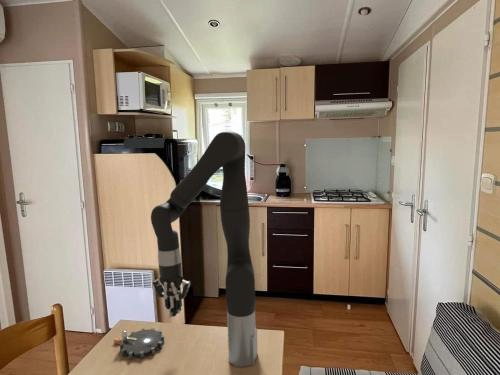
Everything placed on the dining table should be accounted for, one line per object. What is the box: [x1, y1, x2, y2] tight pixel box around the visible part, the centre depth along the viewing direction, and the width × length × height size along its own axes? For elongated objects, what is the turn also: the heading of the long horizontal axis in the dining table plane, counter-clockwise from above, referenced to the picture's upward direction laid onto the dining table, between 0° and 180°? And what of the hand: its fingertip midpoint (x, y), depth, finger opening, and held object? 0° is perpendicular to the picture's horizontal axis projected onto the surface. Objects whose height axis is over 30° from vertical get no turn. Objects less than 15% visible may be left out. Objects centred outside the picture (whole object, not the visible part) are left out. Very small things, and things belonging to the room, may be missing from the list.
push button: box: [166, 287, 182, 319], centre depth 108 cm, size 7×5×10 cm
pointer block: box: [113, 337, 123, 346], centre depth 114 cm, size 3×2×2 cm, turn 77°
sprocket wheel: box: [119, 327, 165, 360], centre depth 112 cm, size 15×15×6 cm
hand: (173, 308), depth 108 cm, fingers closed on push button, 3 cm apart
